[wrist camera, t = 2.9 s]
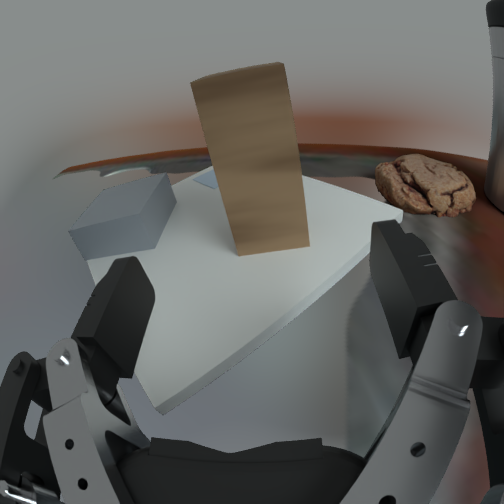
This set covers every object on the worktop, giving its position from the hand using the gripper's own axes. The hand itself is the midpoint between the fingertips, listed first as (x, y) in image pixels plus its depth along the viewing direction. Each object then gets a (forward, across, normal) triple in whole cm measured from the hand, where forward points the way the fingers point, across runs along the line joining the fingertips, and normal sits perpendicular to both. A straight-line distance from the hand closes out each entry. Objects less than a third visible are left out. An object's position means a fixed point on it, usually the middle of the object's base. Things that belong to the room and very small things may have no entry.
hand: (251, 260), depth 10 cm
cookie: (+16, -15, +8) cm, 24 cm away
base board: (+14, +5, +8) cm, 17 cm away
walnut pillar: (+11, 0, +6) cm, 13 cm away
